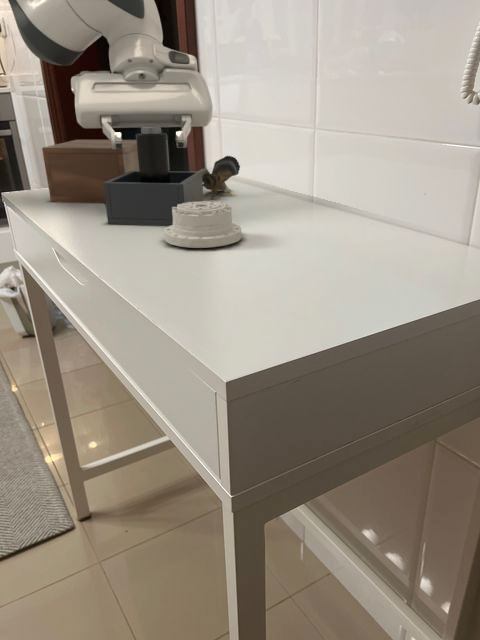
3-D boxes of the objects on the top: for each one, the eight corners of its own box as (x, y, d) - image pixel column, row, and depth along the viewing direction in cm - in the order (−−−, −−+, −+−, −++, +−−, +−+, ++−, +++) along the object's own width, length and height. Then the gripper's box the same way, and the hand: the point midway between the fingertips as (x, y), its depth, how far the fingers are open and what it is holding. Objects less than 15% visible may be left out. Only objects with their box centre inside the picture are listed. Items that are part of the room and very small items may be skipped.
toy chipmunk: (244, 193, 96) (249, 175, 103) (219, 157, 93) (227, 141, 100) (209, 215, 99) (217, 196, 106) (184, 182, 96) (194, 164, 103)
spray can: (139, 213, 83) (130, 127, 78) (148, 207, 87) (140, 125, 82) (167, 214, 83) (161, 127, 77) (175, 208, 87) (169, 125, 81)
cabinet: (83, 187, 108) (77, 139, 104) (152, 188, 107) (148, 140, 103) (50, 201, 96) (41, 147, 92) (127, 203, 94) (121, 148, 91)
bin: (107, 224, 81) (102, 182, 78) (134, 207, 91) (130, 170, 89) (185, 226, 79) (183, 184, 77) (203, 209, 90) (202, 171, 87)
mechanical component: (199, 255, 66) (257, 239, 73) (197, 218, 64) (257, 204, 71) (149, 240, 72) (206, 227, 79) (145, 206, 70) (204, 195, 77)
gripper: (66, 54, 81) (73, 132, 77) (206, 56, 86) (219, 129, 82) (72, 88, 87) (79, 161, 83) (202, 88, 92) (215, 157, 87)
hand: (150, 145), depth 82 cm, fingers open, 8 cm apart
